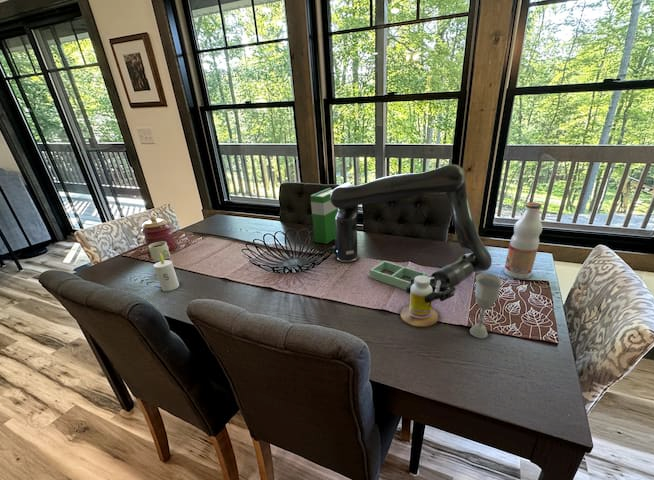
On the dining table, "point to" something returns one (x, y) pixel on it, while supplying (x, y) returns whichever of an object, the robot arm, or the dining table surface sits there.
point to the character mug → (157, 248)
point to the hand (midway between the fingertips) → (416, 295)
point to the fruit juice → (524, 243)
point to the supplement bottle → (420, 297)
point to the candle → (166, 274)
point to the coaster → (416, 321)
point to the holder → (394, 278)
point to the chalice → (485, 299)
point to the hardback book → (323, 216)
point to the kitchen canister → (158, 232)
